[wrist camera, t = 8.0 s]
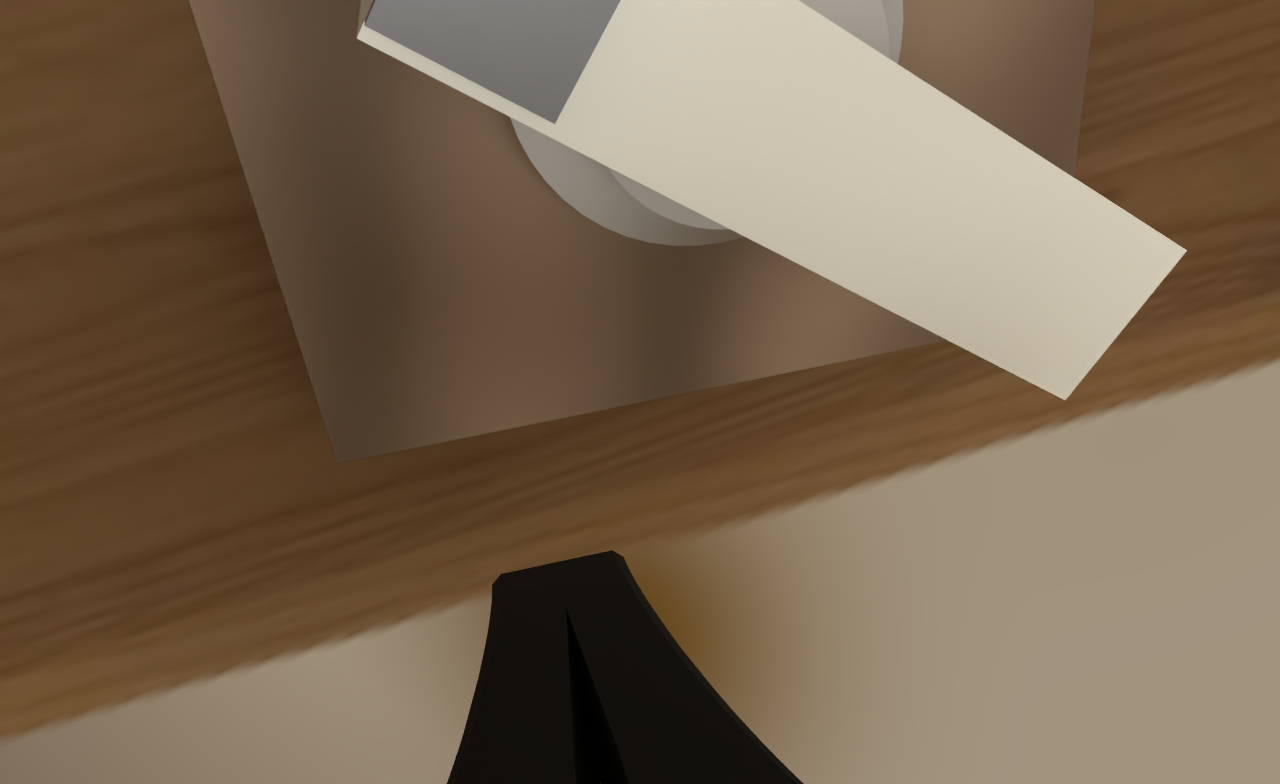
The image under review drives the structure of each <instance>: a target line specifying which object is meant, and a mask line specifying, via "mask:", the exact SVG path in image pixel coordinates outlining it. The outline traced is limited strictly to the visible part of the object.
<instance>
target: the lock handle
mask: <svg viewBox="0 0 1280 784" xmlns="http://www.w3.org/2000/svg"><path fill="white" fill-rule="evenodd" d="M357 39H359V40H361V41H363V42H364V43H366V44H368V45H370V46H372V47H374V48H376V49H378V50H380V51H382V52H384V53H386V54H388V55H390V56H392V57H394V58H396V59H398V60H400V61H402V62H404V63H406V64H408V65H410V66H411V67H413V68H415V69H417V70H419V71H421V72H423V73H425V74H427V75H429V76H431V77H433V78H435V79H437V80H439V81H441V82H443V83H445V84H447V85H449V86H451V87H453V88H455V89H457V90H458V91H460V92H462V93H464V94H466V95H468V96H470V97H472V98H474V99H476V100H478V101H480V102H482V103H484V104H486V105H488V106H490V107H492V108H494V109H496V110H498V111H500V112H502V113H504V114H506V115H507V116H509V117H511V118H513V119H515V120H517V121H519V122H521V123H523V124H525V125H527V126H529V127H531V128H533V129H535V130H537V131H539V132H541V133H543V134H545V135H547V136H549V137H551V138H553V139H554V140H556V141H558V142H560V143H562V144H564V145H566V146H568V147H570V148H572V149H574V150H576V151H578V152H580V153H582V154H584V155H586V156H588V157H590V158H592V159H594V160H596V161H598V162H600V163H601V164H603V165H605V166H607V167H608V168H609V170H610V171H611V173H612V174H613V175H614V177H615V178H616V180H617V181H618V182H619V183H620V184H621V185H622V186H623V187H624V188H625V189H626V191H627V192H628V193H629V194H630V195H631V196H633V197H634V198H635V199H636V200H638V201H639V202H640V203H641V204H643V205H644V206H645V207H647V208H649V209H650V210H652V211H654V212H656V213H657V214H659V215H661V216H663V217H665V218H668V219H670V220H673V221H675V222H677V223H681V224H685V225H689V226H692V227H697V228H705V229H713V230H719V229H731V230H733V231H735V232H737V233H739V234H741V235H743V236H744V237H746V238H748V239H750V240H752V241H754V242H756V243H758V244H760V245H762V246H764V247H766V248H768V249H770V250H772V251H774V252H776V253H778V254H780V255H782V256H784V257H786V258H788V259H790V260H791V261H793V262H795V263H797V264H799V265H801V266H803V267H805V268H807V269H809V270H811V271H813V272H815V273H817V274H819V275H821V276H823V277H825V278H827V279H829V280H831V281H833V282H835V283H837V284H838V285H840V286H842V287H844V288H846V289H848V290H850V291H852V292H854V293H856V294H858V295H860V296H862V297H864V298H866V299H868V300H870V301H872V302H874V303H876V304H878V305H880V306H882V307H884V308H885V309H887V310H889V311H891V312H893V313H895V314H897V315H899V316H901V317H903V318H905V319H907V320H909V321H911V322H913V323H915V324H917V325H919V326H921V327H923V328H925V329H927V330H929V331H931V332H933V333H934V334H936V335H938V336H940V337H942V338H944V339H946V340H948V341H950V342H952V343H954V344H956V345H958V346H960V347H962V348H964V349H966V350H968V351H970V352H972V353H974V354H976V355H978V356H980V357H981V358H983V359H985V360H987V361H989V362H991V363H993V364H995V365H997V366H999V367H1001V368H1003V369H1005V370H1007V371H1009V372H1011V373H1013V374H1015V375H1017V376H1019V377H1021V378H1023V379H1025V380H1027V381H1028V382H1030V383H1032V384H1034V385H1036V386H1038V387H1040V388H1042V389H1044V390H1046V391H1048V392H1050V393H1052V394H1054V395H1056V396H1058V397H1060V398H1062V399H1064V400H1066V399H1067V397H1068V396H1069V395H1070V394H1071V393H1072V391H1073V390H1074V389H1075V388H1076V386H1077V385H1078V384H1079V383H1080V381H1081V380H1082V379H1083V378H1084V377H1085V375H1086V374H1087V373H1088V372H1089V370H1090V369H1091V368H1092V367H1093V365H1094V364H1095V363H1096V362H1097V361H1098V359H1099V358H1100V357H1101V356H1102V354H1103V353H1104V352H1105V351H1106V349H1107V348H1108V347H1109V346H1110V345H1111V343H1112V342H1113V341H1114V340H1115V338H1116V337H1117V336H1118V335H1119V333H1120V332H1121V331H1122V330H1123V329H1124V327H1125V326H1126V325H1127V324H1128V322H1129V321H1130V320H1131V319H1132V317H1133V316H1134V315H1135V314H1136V313H1137V311H1138V310H1139V309H1140V308H1141V306H1142V305H1143V304H1144V303H1145V302H1146V300H1147V299H1148V298H1149V297H1150V295H1151V294H1152V293H1153V292H1154V290H1155V289H1156V288H1157V287H1158V286H1159V284H1160V283H1161V282H1162V281H1163V279H1164V278H1165V277H1166V276H1167V274H1168V273H1169V272H1170V271H1171V270H1172V268H1173V267H1174V266H1175V265H1176V263H1177V262H1178V261H1179V260H1180V258H1181V257H1182V256H1183V255H1184V254H1185V252H1186V251H1187V250H1185V249H1184V248H1182V247H1181V246H1179V245H1178V244H1176V243H1174V242H1173V241H1171V240H1170V239H1168V238H1167V237H1165V236H1164V235H1162V234H1160V233H1159V232H1157V231H1156V230H1154V229H1153V228H1151V227H1150V226H1148V225H1147V224H1145V223H1143V222H1142V221H1140V220H1139V219H1137V218H1136V217H1134V216H1133V215H1131V214H1129V213H1128V212H1126V211H1125V210H1123V209H1122V208H1120V207H1119V206H1117V205H1115V204H1114V203H1112V202H1111V201H1109V200H1108V199H1106V198H1105V197H1103V196H1102V195H1100V194H1098V193H1097V192H1095V191H1094V190H1092V189H1091V188H1089V187H1088V186H1086V185H1084V184H1083V183H1081V182H1080V181H1078V180H1077V179H1075V178H1074V177H1072V176H1070V175H1069V174H1067V173H1066V172H1064V171H1063V170H1061V169H1060V168H1058V167H1057V166H1055V165H1053V164H1052V163H1050V162H1049V161H1047V160H1046V159H1044V158H1043V157H1041V156H1039V155H1038V154H1036V153H1035V152H1033V151H1032V150H1030V149H1029V148H1027V147H1025V146H1024V145H1022V144H1021V143H1019V142H1018V141H1016V140H1015V139H1013V138H1012V137H1010V136H1008V135H1007V134H1005V133H1004V132H1002V131H1001V130H999V129H998V128H996V127H994V126H993V125H991V124H990V123H988V122H987V121H985V120H984V119H982V118H980V117H979V116H977V115H976V114H974V113H973V112H971V111H970V110H968V109H967V108H965V107H963V106H962V105H960V104H959V103H957V102H956V101H954V100H953V99H951V98H949V97H948V96H946V95H945V94H943V93H942V92H940V91H939V90H937V89H935V88H934V87H932V86H931V85H929V84H928V83H926V82H925V81H923V80H921V79H920V78H918V77H917V76H915V75H914V74H912V73H911V72H909V71H908V70H906V69H904V68H903V67H901V66H900V65H898V64H897V63H895V62H894V61H892V60H890V46H889V32H888V26H887V21H886V15H885V11H884V8H883V5H882V2H881V0H361V5H360V13H359V22H358V30H357Z"/></svg>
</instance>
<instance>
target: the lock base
mask: <svg viewBox="0 0 1280 784" xmlns="http://www.w3.org/2000/svg"><path fill="white" fill-rule="evenodd" d="M881 2H882V5H883V8H884V11H885V15H886V21H887V26H888V32H889V46H890V60H892V61H894V62H895V63H897V64H898V65H900V66H901V67H903V68H904V69H906V70H908V71H909V72H911V73H912V74H914V75H915V76H917V77H918V78H920V79H921V80H923V81H925V82H926V83H928V84H929V85H931V86H932V87H934V88H935V89H937V90H939V91H940V92H942V93H943V94H945V95H946V96H948V97H949V98H951V99H953V100H954V101H956V102H957V103H959V104H960V105H962V106H963V107H965V108H967V109H968V110H970V111H971V112H973V113H974V114H976V115H977V116H979V117H980V118H982V119H984V120H985V121H987V122H988V123H990V124H991V125H993V126H994V127H996V128H998V129H999V130H1001V131H1002V132H1004V133H1005V134H1007V135H1008V136H1010V137H1012V138H1013V139H1015V140H1016V141H1018V142H1019V143H1021V144H1022V145H1024V146H1025V147H1027V148H1029V149H1030V150H1032V151H1033V152H1035V153H1036V154H1038V155H1039V156H1041V157H1043V158H1044V159H1046V160H1047V161H1049V162H1050V163H1052V164H1053V165H1055V166H1057V167H1058V168H1060V169H1061V170H1063V171H1064V172H1066V173H1067V174H1069V175H1070V176H1072V177H1074V175H1075V166H1076V158H1077V150H1078V142H1079V133H1080V125H1081V117H1082V109H1083V100H1084V92H1085V84H1086V76H1087V68H1088V59H1089V51H1090V43H1091V35H1092V26H1093V18H1094V10H1095V2H1096V0H881ZM189 3H190V6H191V9H192V12H193V15H194V18H195V22H196V25H197V28H198V31H199V34H200V37H201V40H202V43H203V46H204V50H205V53H206V56H207V59H208V62H209V65H210V68H211V71H212V75H213V78H214V81H215V84H216V87H217V90H218V93H219V96H220V100H221V103H222V106H223V109H224V112H225V115H226V118H227V121H228V124H229V128H230V131H231V134H232V137H233V140H234V143H235V146H236V149H237V153H238V156H239V159H240V162H241V165H242V168H243V171H244V174H245V178H246V181H247V184H248V187H249V190H250V193H251V196H252V199H253V203H254V206H255V209H256V212H257V215H258V218H259V221H260V224H261V227H262V231H263V234H264V237H265V240H266V243H267V246H268V249H269V252H270V256H271V259H272V262H273V265H274V268H275V271H276V274H277V277H278V281H279V284H280V287H281V290H282V293H283V296H284V299H285V302H286V306H287V309H288V312H289V315H290V318H291V321H292V324H293V327H294V330H295V334H296V337H297V340H298V343H299V346H300V349H301V352H302V355H303V359H304V362H305V365H306V368H307V371H308V374H309V377H310V380H311V384H312V387H313V390H314V393H315V396H316V399H317V402H318V405H319V409H320V412H321V415H322V418H323V421H324V424H325V427H326V430H327V433H328V437H329V440H330V443H331V446H332V449H333V452H334V455H335V458H336V462H337V464H338V463H343V462H348V461H353V460H358V459H363V458H368V457H373V456H378V455H383V454H388V453H393V452H398V451H403V450H408V449H413V448H418V447H423V446H427V445H432V444H437V443H442V442H447V441H452V440H457V439H462V438H467V437H472V436H477V435H482V434H487V433H492V432H497V431H502V430H507V429H512V428H517V427H521V426H526V425H531V424H536V423H541V422H546V421H551V420H556V419H561V418H566V417H571V416H576V415H581V414H586V413H591V412H596V411H601V410H606V409H610V408H615V407H620V406H625V405H630V404H635V403H640V402H645V401H650V400H655V399H660V398H665V397H670V396H675V395H680V394H685V393H690V392H695V391H700V390H704V389H709V388H714V387H719V386H724V385H729V384H734V383H739V382H744V381H749V380H754V379H759V378H764V377H769V376H774V375H779V374H784V373H789V372H794V371H798V370H803V369H808V368H813V367H818V366H823V365H828V364H833V363H838V362H843V361H848V360H853V359H858V358H863V357H868V356H873V355H878V354H883V353H887V352H892V351H897V350H902V349H907V348H912V347H917V346H922V345H927V344H932V343H937V342H942V341H947V340H946V339H944V338H942V337H940V336H938V335H936V334H934V333H933V332H931V331H929V330H927V329H925V328H923V327H921V326H919V325H917V324H915V323H913V322H911V321H909V320H907V319H905V318H903V317H901V316H899V315H897V314H895V313H893V312H891V311H889V310H887V309H885V308H884V307H882V306H880V305H878V304H876V303H874V302H872V301H870V300H868V299H866V298H864V297H862V296H860V295H858V294H856V293H854V292H852V291H850V290H848V289H846V288H844V287H842V286H840V285H838V284H837V283H835V282H833V281H831V280H829V279H827V278H825V277H823V276H821V275H819V274H817V273H815V272H813V271H811V270H809V269H807V268H805V267H803V266H801V265H799V264H797V263H795V262H793V261H791V260H790V259H788V258H786V257H784V256H782V255H780V254H778V253H776V252H774V251H772V250H770V249H768V248H766V247H764V246H762V245H760V244H758V243H756V242H754V241H752V240H750V239H748V238H746V237H744V236H743V235H741V234H739V233H737V232H735V231H733V230H731V229H719V230H713V229H705V228H697V227H692V226H689V225H685V224H681V223H677V222H675V221H673V220H670V219H668V218H665V217H663V216H661V215H659V214H657V213H656V212H654V211H652V210H650V209H649V208H647V207H645V206H644V205H643V204H641V203H640V202H639V201H638V200H636V199H635V198H634V197H633V196H631V195H630V194H629V193H628V192H627V191H626V189H625V188H624V187H623V186H622V185H621V184H620V183H619V182H618V181H617V180H616V178H615V177H614V175H613V174H612V173H611V171H610V170H609V168H608V167H607V166H605V165H603V164H601V163H600V162H598V161H596V160H594V159H592V158H590V157H588V156H586V155H584V154H582V153H580V152H578V151H576V150H574V149H572V148H570V147H568V146H566V145H564V144H562V143H560V142H558V141H556V140H554V139H553V138H551V137H549V136H547V135H545V134H543V133H541V132H539V131H537V130H535V129H533V128H531V127H529V126H527V125H525V124H523V123H521V122H519V121H517V120H515V119H513V118H511V117H509V116H507V115H506V114H504V113H502V112H500V111H498V110H496V109H494V108H492V107H490V106H488V105H486V104H484V103H482V102H480V101H478V100H476V99H474V98H472V97H470V96H468V95H466V94H464V93H462V92H460V91H458V90H457V89H455V88H453V87H451V86H449V85H447V84H445V83H443V82H441V81H439V80H437V79H435V78H433V77H431V76H429V75H427V74H425V73H423V72H421V71H419V70H417V69H415V68H413V67H411V66H410V65H408V64H406V63H404V62H402V61H400V60H398V59H396V58H394V57H392V56H390V55H388V54H386V53H384V52H382V51H380V50H378V49H376V48H374V47H372V46H370V45H368V44H366V43H364V42H363V41H361V40H359V39H357V30H358V22H359V13H360V5H361V0H189Z"/></svg>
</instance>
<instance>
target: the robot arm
mask: <svg viewBox="0 0 1280 784" xmlns="http://www.w3.org/2000/svg"><path fill="white" fill-rule="evenodd" d="M447 784H803V783H802V782H801V781H800V780H799V779H798V778H797V777H796V776H795V775H794V774H793V773H792V772H791V771H790V770H789V769H788V768H787V767H786V766H785V765H784V764H783V763H782V762H781V761H780V760H779V759H778V758H777V757H776V756H775V755H774V754H773V753H772V752H771V751H770V750H769V749H768V748H767V747H766V746H765V745H764V744H763V743H762V742H761V741H760V740H759V739H758V737H757V736H756V735H755V734H754V733H753V732H752V731H751V730H750V729H749V728H748V727H747V726H746V725H745V723H744V722H743V721H742V720H741V719H740V718H739V717H738V716H737V715H736V714H735V713H734V712H733V710H732V709H731V708H730V707H729V706H728V705H727V703H726V702H725V701H724V700H723V699H722V698H721V697H720V695H719V694H718V693H717V692H716V691H715V690H714V688H713V687H712V686H711V685H710V683H709V682H708V681H707V680H706V678H705V677H704V676H703V675H702V674H701V672H700V671H699V670H698V669H697V668H696V666H695V665H694V664H693V662H692V661H691V660H690V659H689V657H688V656H687V655H686V654H685V652H684V651H683V650H682V649H681V647H680V646H679V645H678V644H677V642H676V641H675V639H674V638H673V637H672V635H671V634H670V633H669V631H668V630H667V629H666V627H665V625H664V624H663V623H662V621H661V620H660V619H659V617H658V615H657V614H656V613H655V611H654V610H653V608H652V607H651V605H650V604H649V602H648V601H647V599H646V598H645V596H644V594H643V593H642V591H641V589H640V588H639V586H638V584H637V583H636V581H635V579H634V578H633V576H632V574H631V572H630V570H629V568H628V566H627V564H626V562H625V559H624V557H623V556H621V555H619V554H618V553H616V552H614V551H607V552H602V553H598V554H593V555H588V556H584V557H579V558H574V559H570V560H565V561H560V562H556V563H551V564H546V565H542V566H537V567H532V568H528V569H523V570H518V571H514V572H509V573H504V574H501V575H500V576H499V577H498V578H497V580H496V581H495V582H494V583H493V584H492V605H491V613H490V621H489V628H488V634H487V639H486V645H485V650H484V655H483V660H482V664H481V669H480V673H479V678H478V681H477V685H476V689H475V693H474V696H473V700H472V704H471V708H470V712H469V715H468V719H467V723H466V726H465V730H464V734H463V737H462V740H461V744H460V747H459V750H458V753H457V756H456V759H455V762H454V765H453V768H452V770H451V773H450V777H449V779H448V782H447Z"/></svg>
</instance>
